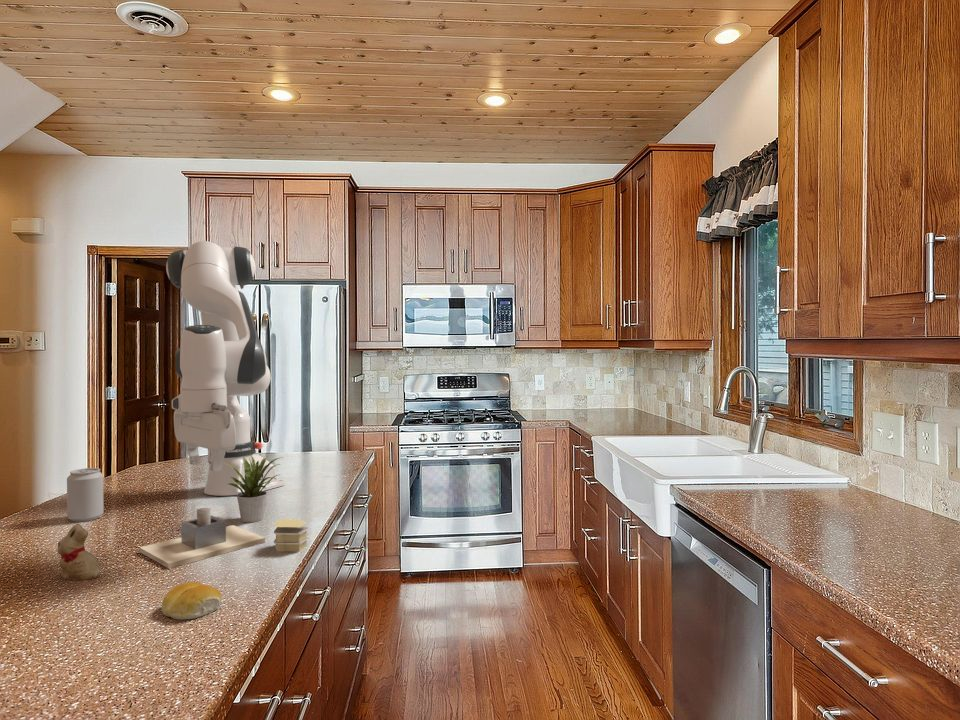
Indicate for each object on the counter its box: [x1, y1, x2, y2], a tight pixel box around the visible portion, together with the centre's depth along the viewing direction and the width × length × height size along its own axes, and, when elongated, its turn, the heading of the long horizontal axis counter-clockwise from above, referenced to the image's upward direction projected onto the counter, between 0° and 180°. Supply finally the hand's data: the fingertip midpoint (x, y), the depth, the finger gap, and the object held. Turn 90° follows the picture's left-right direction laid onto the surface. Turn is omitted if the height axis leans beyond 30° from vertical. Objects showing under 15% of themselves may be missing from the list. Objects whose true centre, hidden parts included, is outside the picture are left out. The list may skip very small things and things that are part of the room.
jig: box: [139, 507, 266, 569], centre depth 125 cm, size 20×14×8 cm
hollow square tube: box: [180, 515, 227, 550], centre depth 125 cm, size 6×6×4 cm
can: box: [66, 467, 105, 523], centre depth 145 cm, size 8×8×12 cm
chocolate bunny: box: [57, 522, 102, 582], centre depth 109 cm, size 6×8×10 cm
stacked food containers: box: [273, 518, 309, 553], centre depth 125 cm, size 10×9×6 cm
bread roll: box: [161, 581, 223, 621], centre depth 96 cm, size 8×9×4 cm
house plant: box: [222, 453, 284, 523], centre depth 145 cm, size 14×14×16 cm
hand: (205, 467), depth 125 cm, fingers open, 8 cm apart
